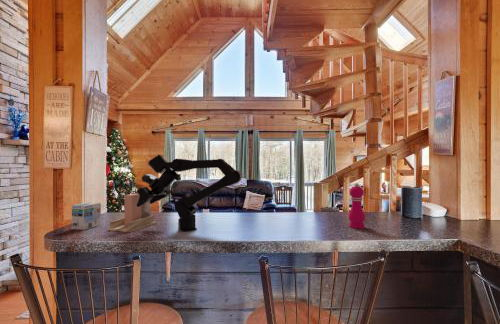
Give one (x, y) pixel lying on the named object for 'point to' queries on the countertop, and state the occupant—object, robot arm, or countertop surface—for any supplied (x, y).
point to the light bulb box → (86, 215)
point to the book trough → (134, 225)
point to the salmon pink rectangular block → (132, 208)
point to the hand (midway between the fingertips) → (143, 204)
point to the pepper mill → (356, 208)
